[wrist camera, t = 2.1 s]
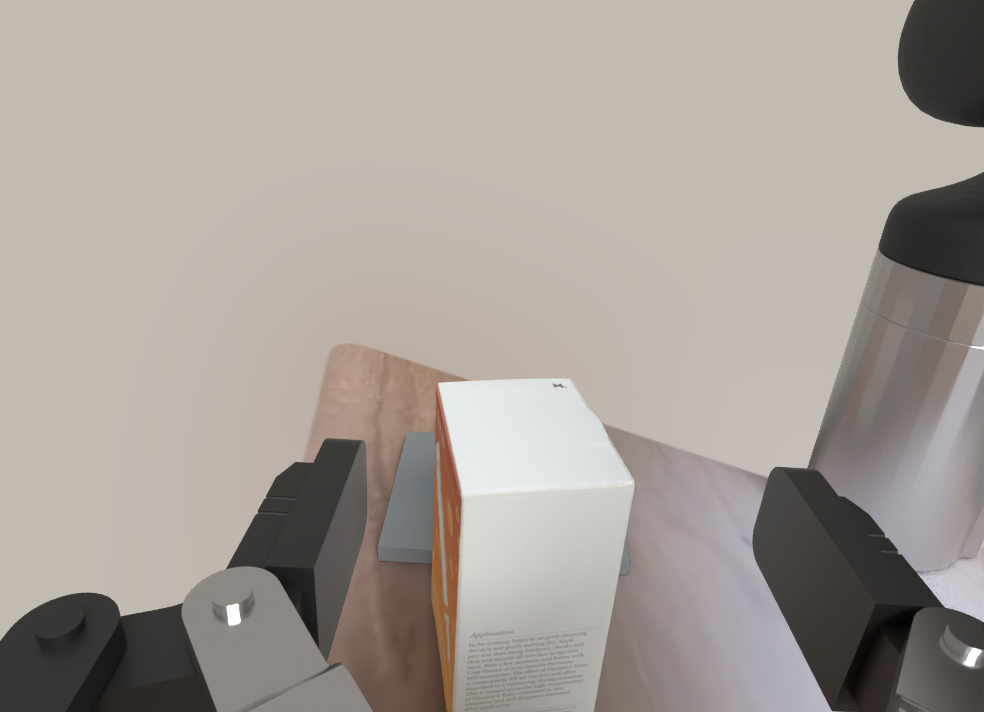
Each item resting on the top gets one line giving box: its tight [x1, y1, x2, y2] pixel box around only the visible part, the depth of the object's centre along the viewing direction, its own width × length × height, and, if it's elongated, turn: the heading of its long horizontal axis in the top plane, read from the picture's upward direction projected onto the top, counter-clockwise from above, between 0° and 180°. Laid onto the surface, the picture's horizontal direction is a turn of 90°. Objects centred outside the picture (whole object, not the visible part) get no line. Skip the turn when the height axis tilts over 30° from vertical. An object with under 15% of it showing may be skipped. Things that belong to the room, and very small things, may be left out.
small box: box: [431, 378, 635, 712], centre depth 28 cm, size 8×6×13 cm
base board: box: [378, 432, 631, 575], centre depth 41 cm, size 14×12×1 cm
